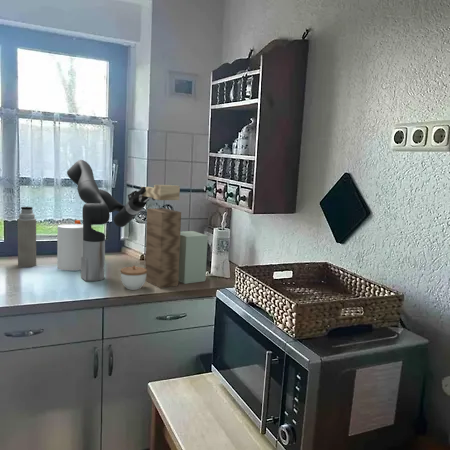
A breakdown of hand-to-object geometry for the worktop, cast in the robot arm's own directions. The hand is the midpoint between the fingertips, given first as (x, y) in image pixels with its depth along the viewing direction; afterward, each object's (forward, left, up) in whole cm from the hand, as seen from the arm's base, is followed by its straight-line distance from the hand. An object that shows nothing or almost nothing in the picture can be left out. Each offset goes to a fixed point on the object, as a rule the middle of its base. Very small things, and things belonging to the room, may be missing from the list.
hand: (149, 188), depth 203 cm
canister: (-26, +27, -40) cm, 55 cm away
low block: (+14, -14, -40) cm, 45 cm away
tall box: (0, -15, -40) cm, 43 cm away
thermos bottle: (-44, +38, -40) cm, 71 cm away
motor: (-18, +43, -40) cm, 62 cm away
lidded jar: (-14, -17, -40) cm, 46 cm away
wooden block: (0, -8, -3) cm, 8 cm away
